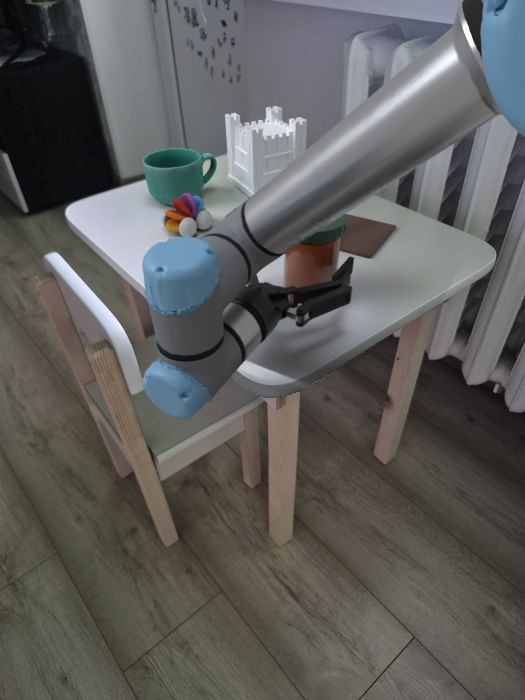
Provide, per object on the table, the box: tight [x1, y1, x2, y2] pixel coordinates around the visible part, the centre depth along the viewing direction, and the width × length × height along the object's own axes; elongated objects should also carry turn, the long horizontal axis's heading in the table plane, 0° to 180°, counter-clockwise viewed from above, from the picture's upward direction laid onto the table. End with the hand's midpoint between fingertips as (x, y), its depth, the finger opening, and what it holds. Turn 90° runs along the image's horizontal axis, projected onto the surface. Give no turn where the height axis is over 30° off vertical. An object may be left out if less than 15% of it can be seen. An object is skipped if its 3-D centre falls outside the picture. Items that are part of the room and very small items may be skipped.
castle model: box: [224, 105, 308, 198], centre depth 111 cm, size 14×14×15 cm
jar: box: [282, 237, 341, 302], centre depth 77 cm, size 9×9×13 cm
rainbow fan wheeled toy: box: [161, 193, 214, 237], centre depth 96 cm, size 8×10×7 cm
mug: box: [142, 147, 218, 207], centre depth 107 cm, size 17×13×10 cm
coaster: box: [340, 213, 397, 259], centre depth 96 cm, size 14×14×1 cm
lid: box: [302, 213, 347, 244], centre depth 73 cm, size 10×10×2 cm
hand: (311, 253), depth 77 cm, fingers open, 13 cm apart
